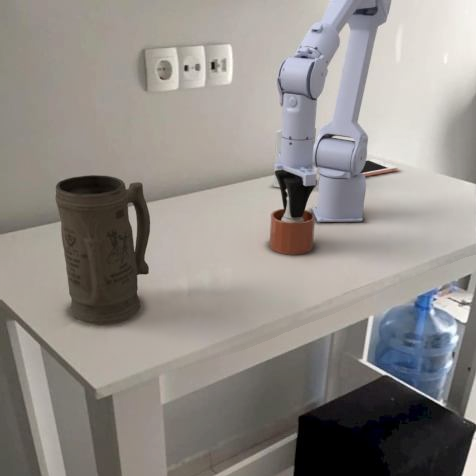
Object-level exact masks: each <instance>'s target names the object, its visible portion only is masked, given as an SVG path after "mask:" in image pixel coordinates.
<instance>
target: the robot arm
mask: <svg viewBox="0 0 476 476" xmlns="http://www.w3.org/2000/svg"><path fill="white" fill-rule="evenodd" d="M391 5H392V0H329V2H328V5H327V7H326V9H325V11H324V14H323V15H322V18H321V21H318V22H314V23H312V25H311V26H310V27H309V28H308V30H307V32H306V34H305V36H304V37H303V39H302V41H301V43H300V44H299V46H298V48H297V50H295V53H294V55H293V56H289V57H287V59H285V60H283V61H282V62H281V63H280V66H279V69H278V72H277V74H278V75H277V77H276V87H277V90H278V91H277V92H278V94H279V106H280V107H281V108H282V113H281V129H282V131H281V152H278V156H277V162H275V161H274V162H273V168H276V169H282V170H276V171H275V175H276V178H277V180H278V183H279V186H280V188H279V190H280V195H281V202H282V206H283V209H284V210H285V211H286V207H287V199H286V198H287V197H288V196H289V208H290V215H291V217H292V218H298V217H302V216H303V214H304V210H306V207H307V204H308V201H309V198H310V196H311V194H312V193H313V190H314V189H315V188H316V186H317V185H318V190H317V191H318V192H317V204H316V206H313V207H312V208H311V209H312V210H311V211H312V213H313V214H314V215H315V220H316V221H317V222H318V223H347V222H348V223H350V222H351V223H355V222H356V223H357V222H360V223H361V222H363V220H364V218H363V215H364V214H363V213H364V208H365V207H364V206H365V198H366V190H367V189H366V188H367V179H366V176H365V175H364V174H363V173H360V172H361V171H362V169H363V168H364V165H365V162H366V160H367V158H368V143H369V136H368V134H367V132H366V131H365V130H364V129H363V127H362V126H361V125H360V123H359V117H360V112H361V108H362V103H363V97H364V94H365V88H366V84H367V79H368V76H369V75H368V74H369V69H370V64H371V60H372V56H373V55H372V54H373V50H374V45H375V41H376V36H377V33H378V29H379V27H380V26H382V25H383V24H385V23H386V22H387V20H388V16H389V14H390V11H391V10H390V9H391ZM347 24H348V27H349V35H348V39H347V45H346V50H345V54H344V59H343V64H342V69H341V74H340V75H341V76H340V81H339V86H338V90H337V96H336V100H335V106H334V111H333V116H332V119H331V120H330V121H328V122H327V123H325V124H324V125H322V126H321V127H320V128H319V130H318V133H317V135H316V136H317V137H316V139H315V144H314V135H315V128H316V122H317V109H318V108H317V106H318V98H319V97H320V96H321V94H322V93H323V91H324V88H325V83H326V80H327V79H326V78H327V76H328V73H329V70H328V67H329V65H330V63H331V61H332V60H333V58H334V56H335V55H336V53H337V51H338V49H339V48H340V46H341V45H340V44H341V38H340V35H339V34H340V33H341V31H342V30H343V29H344V28H345V26H346V25H347ZM337 137H343V138H348V139H343V138H337ZM349 138H350V139H349ZM351 139H353V140H351ZM312 161H313V162H312ZM315 169H316V172H315ZM318 174H319V177H318V176H317V175H318ZM317 177H318V179H319V180H317ZM286 189H287V191H288V194H287V192H286V191H285V190H286Z"/></svg>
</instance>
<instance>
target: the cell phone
mask: <svg viewBox="0 0 476 476" xmlns="http://www.w3.org/2000/svg"><path fill="white" fill-rule="evenodd" d="M397 171H398V167H397V166H395V165H393V164H390V163H388V162H386V161H382V160H379V159H377V158H372V159H366V162H365V165H364V168H363V169H362V171H361V172H360V173H363V174H364V175H365V177H370V176H375V175H379V174H385V173H386V174H387V173H391V172H397Z"/></svg>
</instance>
